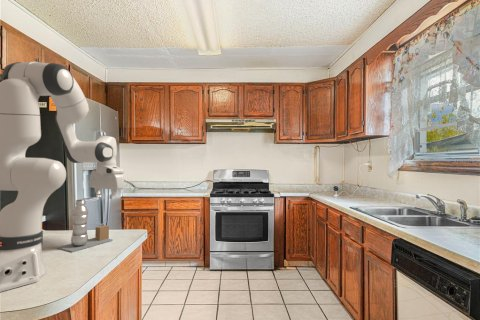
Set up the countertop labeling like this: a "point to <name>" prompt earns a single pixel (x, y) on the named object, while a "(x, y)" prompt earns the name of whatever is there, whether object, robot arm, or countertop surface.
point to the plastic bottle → (79, 224)
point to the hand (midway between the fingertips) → (105, 198)
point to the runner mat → (91, 240)
